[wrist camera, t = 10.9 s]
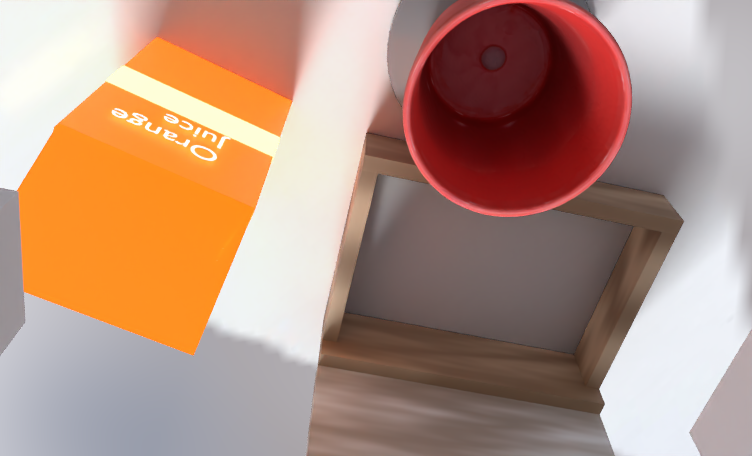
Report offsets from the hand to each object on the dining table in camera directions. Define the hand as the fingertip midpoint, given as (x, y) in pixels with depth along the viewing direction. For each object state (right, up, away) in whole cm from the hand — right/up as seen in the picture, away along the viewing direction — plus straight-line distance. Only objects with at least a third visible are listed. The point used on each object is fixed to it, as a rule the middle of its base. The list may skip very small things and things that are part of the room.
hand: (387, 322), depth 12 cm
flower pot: (+6, +12, +28) cm, 31 cm away
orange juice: (-11, +8, +31) cm, 34 cm away
